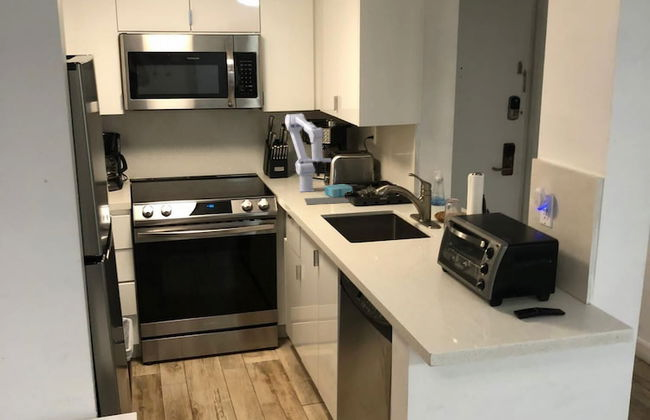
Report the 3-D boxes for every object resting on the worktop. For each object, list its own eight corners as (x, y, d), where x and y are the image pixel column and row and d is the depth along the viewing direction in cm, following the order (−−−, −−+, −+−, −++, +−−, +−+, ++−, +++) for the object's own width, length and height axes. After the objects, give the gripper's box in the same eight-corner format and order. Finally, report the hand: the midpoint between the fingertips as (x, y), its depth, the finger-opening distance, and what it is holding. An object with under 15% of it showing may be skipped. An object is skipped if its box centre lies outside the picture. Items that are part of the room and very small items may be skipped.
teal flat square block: (333, 197, 352) (353, 195, 357) (332, 189, 351) (353, 187, 356) (324, 194, 363) (344, 191, 368) (323, 185, 362) (344, 183, 367)
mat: (304, 199, 353) (304, 198, 353) (345, 196, 355) (345, 196, 355) (306, 204, 339) (306, 204, 339) (349, 202, 342) (349, 202, 342)
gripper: (304, 152, 352) (305, 178, 355) (331, 150, 354) (332, 176, 356) (302, 151, 359) (304, 176, 362) (329, 149, 361) (330, 174, 363)
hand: (318, 176), depth 359 cm, fingers closed
